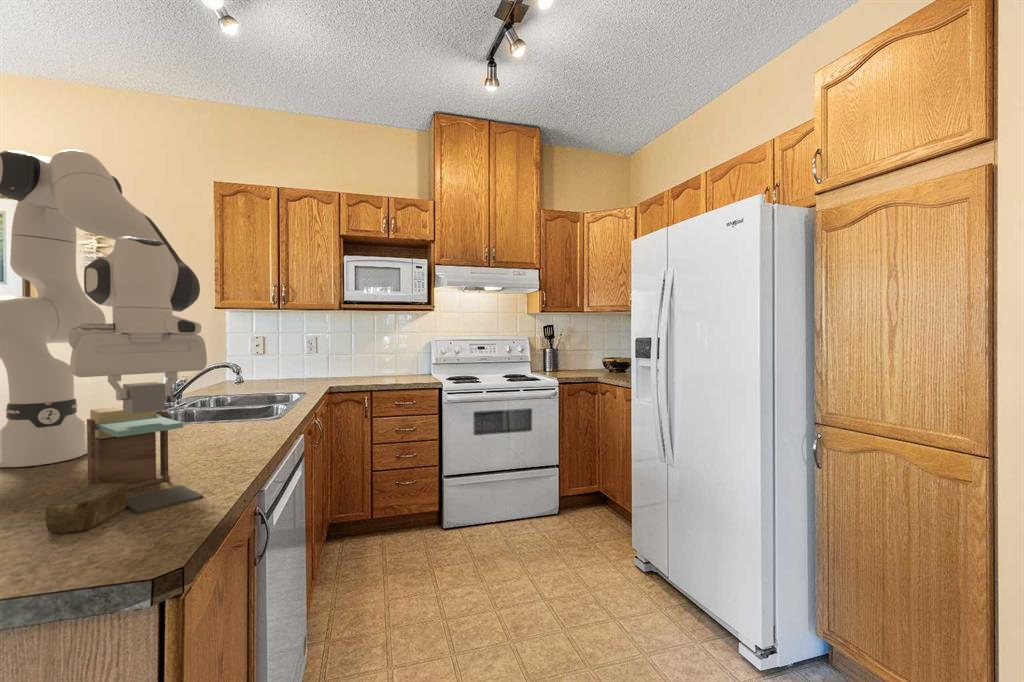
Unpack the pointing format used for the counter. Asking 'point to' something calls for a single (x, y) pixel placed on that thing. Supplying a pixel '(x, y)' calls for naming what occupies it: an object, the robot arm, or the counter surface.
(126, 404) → the stone cube
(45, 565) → the counter surface
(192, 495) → the rubber mat
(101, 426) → the trapdoor
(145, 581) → the counter surface
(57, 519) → the stone block
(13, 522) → the counter surface
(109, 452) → the trapdoor frame
